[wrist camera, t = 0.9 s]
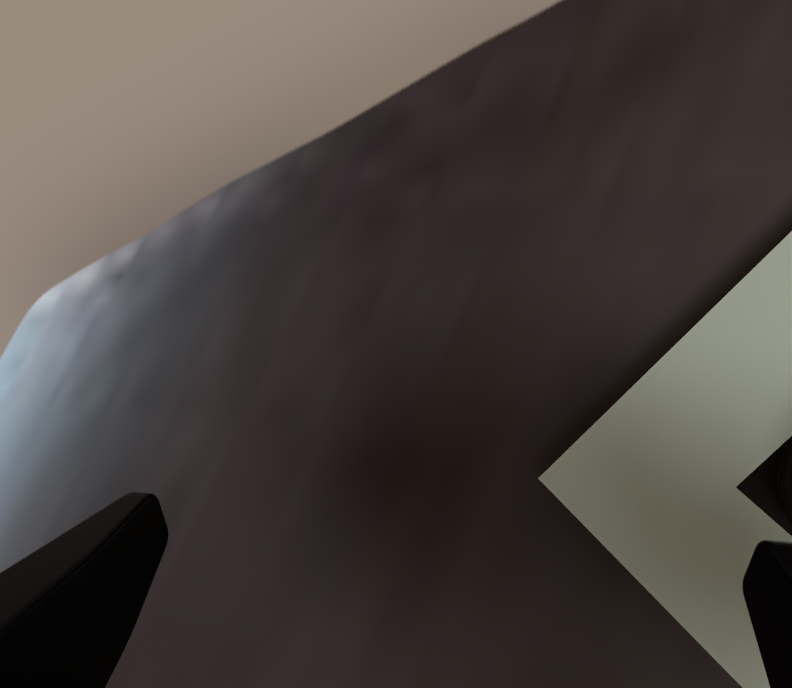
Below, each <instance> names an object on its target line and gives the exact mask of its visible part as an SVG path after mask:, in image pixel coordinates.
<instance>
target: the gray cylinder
mask: <svg viewBox="0 0 792 688" xmlns="http://www.w3.org/2000/svg"><path fill="white" fill-rule="evenodd" d="M776 479H777V490H778V495H779V498H780V501H781V504H782V506H783V508H784V510H785V512H786V514H787V516H788V517H789V519H790V520H791V522H792V440H791V441H790V442H789V443H788V445H787V446H786V448H785V449H784V451H783V453H782V455H781V457H780V460H779V464H778V467H777V475H776Z"/></svg>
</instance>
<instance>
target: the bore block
mask: <svg viewBox="0 0 792 688" xmlns="http://www.w3.org/2000/svg"><path fill="white" fill-rule="evenodd" d="M791 436H792V231H791V232H790V233H789V234H788V235H787V236H786V237H785V238H784V239H783V240H782V241H781V242H780V243H779V244H778V245H777V246H776V247H775V248H774V249H773V250H772V251H771V252H770V253H769V254H768V255H767V256H766V257H765V258H764V259H763V260H762V261H760V262H759V263H758V264H757V265H756V266H755V267H754V268H753V269H752V270H751V271H750V272H749V273H748V274H747V275H746V276H745V277H744V278H743V279H742V280H741V281H740V282H739V283H738V284H737V285H736V286H735V287H734V288H733V289H732V290H731V291H730V292H729V293H728V294H727V295H726V296H725V297H724V298H723V299H722V300H720V301H719V302H718V303H717V304H716V305H715V306H714V307H713V308H712V309H711V310H710V311H709V312H708V313H707V314H706V315H705V316H704V317H703V318H702V319H701V320H700V321H699V322H698V323H697V324H696V325H695V326H694V327H693V328H692V329H691V330H690V331H689V332H688V333H687V334H686V335H685V336H684V337H683V338H682V339H681V340H679V341H678V342H677V343H676V344H675V345H674V346H673V347H672V348H671V349H670V350H669V351H668V352H667V353H666V354H665V355H664V356H663V357H662V358H661V359H660V360H659V361H658V362H657V363H656V364H655V365H654V366H653V367H652V368H651V369H650V370H649V371H648V372H647V373H646V374H645V375H644V376H643V377H642V378H641V379H639V380H638V381H637V382H636V383H635V384H634V385H633V386H632V387H631V388H630V389H629V390H628V391H627V392H626V393H625V394H624V395H623V396H622V397H621V398H620V399H619V400H618V401H617V402H616V403H615V404H614V405H613V406H612V407H611V408H610V409H609V410H608V411H607V412H606V413H605V414H604V415H603V416H602V417H601V418H600V419H598V420H597V421H596V422H595V423H594V424H593V425H592V426H591V427H590V428H589V429H588V430H587V431H586V432H585V433H584V434H583V435H582V436H581V437H580V438H579V439H578V440H577V441H576V442H575V443H574V444H573V445H572V446H571V447H570V448H569V449H568V450H567V451H566V452H565V453H564V454H563V455H562V456H561V457H560V458H558V459H557V460H556V461H555V462H554V463H553V464H552V465H551V466H550V467H549V468H548V469H547V470H546V471H545V472H544V473H543V474H542V475H541V476H540V477H539V478H538V479H539V480H540V481H541V482H542V483H543V484H544V485H545V486H546V487H547V488H548V489H549V490H550V491H551V492H552V493H553V494H554V495H555V496H556V497H557V498H558V499H559V500H560V501H561V502H562V503H563V504H564V506H565V507H566V508H567V509H568V510H569V511H570V512H571V513H572V514H573V515H574V516H575V517H576V518H577V519H578V520H579V521H580V522H581V523H582V524H583V525H584V526H585V527H586V528H587V529H588V530H589V531H590V532H591V533H592V534H593V535H594V536H595V537H596V538H597V539H598V540H599V541H600V542H601V543H602V544H603V545H604V546H605V548H606V549H607V550H608V551H609V552H610V553H611V554H612V555H613V556H614V557H615V558H616V559H617V560H618V561H619V562H620V563H621V564H622V565H623V566H624V567H625V568H626V569H627V570H628V571H629V572H630V573H631V574H632V575H633V576H634V577H635V578H636V579H637V580H638V581H639V582H640V583H641V584H642V585H643V586H644V587H645V588H646V589H647V591H648V592H649V593H650V594H651V595H652V596H653V597H654V598H655V599H656V600H657V601H658V602H659V603H660V604H661V605H662V606H663V607H664V608H665V609H666V610H667V611H668V612H669V613H670V614H671V615H672V616H673V617H674V618H675V619H676V620H677V621H678V622H679V623H680V624H681V625H682V626H683V627H684V628H685V629H686V630H687V631H688V633H689V634H690V635H691V636H692V637H693V638H694V639H695V640H696V641H697V642H698V643H699V644H700V645H701V646H702V647H703V648H704V649H705V650H706V651H707V652H708V653H709V654H710V655H711V656H712V657H713V658H714V659H715V660H716V661H717V662H718V663H719V664H720V665H721V666H722V667H723V668H724V669H725V670H726V671H727V672H728V673H729V674H730V676H731V677H732V678H733V679H734V680H735V681H736V682H737V683H738V684H739V685H740V686H741V687H742V688H770V685H769V682H768V678H767V675H766V671H765V668H764V665H763V661H762V658H761V654H760V651H759V647H758V644H757V640H756V637H755V633H754V630H753V626H752V623H751V620H750V616H749V613H748V609H747V606H746V602H745V599H744V595H743V578H744V575H745V573H746V570H747V568H748V565H749V563H750V560H751V557H752V555H753V552H754V550H755V547H756V546H757V544H758V543H759V542H760V541H762V540H774V541H787V542H792V536H791V535H790V534H789V533H787V532H786V531H785V530H784V529H783V528H782V527H781V526H779V525H778V524H777V523H776V522H775V521H774V520H773V519H771V518H770V517H769V516H768V515H767V514H766V513H765V512H763V511H762V510H761V509H760V508H759V507H758V506H757V505H755V504H754V503H753V502H752V501H751V500H750V499H749V498H747V497H746V496H745V495H744V494H743V493H742V492H741V491H739V490H738V489H737V488H736V487H737V486H738V485H739V484H740V483H741V482H742V481H743V480H744V479H745V478H746V477H747V476H748V475H750V474H751V473H752V472H753V471H754V470H755V469H756V468H757V467H758V466H759V465H760V464H762V463H763V462H764V461H765V460H766V459H767V458H768V457H769V456H770V455H771V454H772V453H774V452H775V451H776V450H777V449H778V448H779V447H780V446H781V445H782V444H783V443H784V442H785V441H787V440H788V439H789V438H790V437H791Z"/></svg>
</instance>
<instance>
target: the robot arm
mask: <svg viewBox="0 0 792 688" xmlns="http://www.w3.org/2000/svg"><path fill="white" fill-rule="evenodd" d="M167 541H168V528H167V525H166V522H165V519H164V515H163V512H162V509H161V506H160V503H159V500H158V498H157V497H156V496H155V495H154V494H150V493H136V492H132V493H128V494H126V495H124V496H122V497H121V498H119V499H117V500H116V501H114V502H113V503H111V504H109V505H108V506H106V507H105V508H103V509H102V510H100V511H98V512H97V513H95V514H94V515H92V516H90V517H89V518H87V519H86V520H84V521H82V522H81V523H79V524H78V525H76V526H74V527H73V528H71V529H70V530H68V531H66V532H65V533H63V534H62V535H60V536H58V537H57V538H55V539H54V540H52V541H50V542H49V543H47V544H46V545H44V546H42V547H41V548H39V549H38V550H36V551H34V552H33V553H31V554H30V555H28V556H26V557H25V558H23V559H22V560H20V561H18V562H17V563H15V564H14V565H12V566H10V567H9V568H7V569H6V570H4V571H3V572H1V573H0V688H105V686H106V684H107V682H108V680H109V678H110V677H111V675H112V673H113V671H114V669H115V667H116V665H117V663H118V661H119V659H120V657H121V655H122V653H123V651H124V649H125V647H126V644H127V642H128V640H129V638H130V636H131V634H132V631H133V629H134V627H135V624H136V622H137V619H138V617H139V614H140V612H141V609H142V606H143V604H144V601H145V599H146V596H147V594H148V591H149V589H150V586H151V584H152V581H153V578H154V576H155V573H156V571H157V568H158V566H159V563H160V561H161V558H162V555H163V553H164V550H165V548H166V545H167ZM743 595H744V599H745V602H746V606H747V609H748V613H749V616H750V620H751V623H752V626H753V630H754V633H755V637H756V640H757V644H758V647H759V651H760V654H761V658H762V661H763V665H764V668H765V671H766V675H767V678H768V682H769V685H770V688H792V542H787V541H774V540H762V541H760V542H759V543H758V544H757V546H756V547H755V550H754V552H753V555H752V557H751V560H750V563H749V565H748V568H747V570H746V573H745V575H744V578H743Z"/></svg>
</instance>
